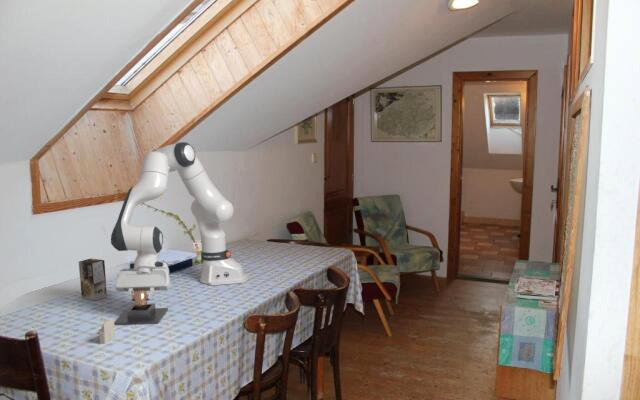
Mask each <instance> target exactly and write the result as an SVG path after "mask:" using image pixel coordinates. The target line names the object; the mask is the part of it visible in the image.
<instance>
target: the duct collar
mask: <svg viewBox="0 0 640 400" xmlns="http://www.w3.org/2000/svg"><path fill="white" fill-rule="evenodd" d="M168 311H169V308H168V307H158V308H156V303H147V310H135V304H132V305H131V306H130V307H129V308H128V309H126V310H125V311H124V312H123V313H122V314H120V316H119V317H118V318H117V319H115V320H114V326H129V325H130V326H132V325H154V324H155V325H159V323H160V322H161V321H162V319H163V317H164V316H165V315H166V314H167V313H168Z"/></svg>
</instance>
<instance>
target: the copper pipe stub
mask: <svg viewBox="0 0 640 400" xmlns="http://www.w3.org/2000/svg"><path fill="white" fill-rule="evenodd" d="M147 294H148V293H147V291H146V289H138V290H135V291H134V293H133V295H134V300H135V301H134V305H135V310H147V304H148V301H147V300H146V295H147Z"/></svg>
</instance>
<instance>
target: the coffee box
mask: <svg viewBox="0 0 640 400" xmlns="http://www.w3.org/2000/svg"><path fill="white" fill-rule="evenodd" d="M105 261H106V260H104V259H98V258H97V259H96V258H87V259H83V260H80V261H78V268H79V269H78V270H79V272H78V273H79V279H80V280H79V281H80V282H79V284H80V292H81V299H84V300H90V301H98V300H99V301H100V300H101V299H105V298H107V297H108V292H107V277H106V265H105Z"/></svg>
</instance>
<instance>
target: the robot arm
mask: <svg viewBox="0 0 640 400" xmlns="http://www.w3.org/2000/svg"><path fill="white" fill-rule="evenodd" d="M197 156H198V155H196V151H195V149H194V147H193V146H192V144H190V143H188V142H184V141H183V142H182V141H181V142H177V143H171V144H168V145H165V146H163V147H160V148H157V149H154V150H152V151H149V152H147V153H146V154H145V156H144V159H143V161H142V164H141V168H140V172H139V178H138V181H137V182H136V183H135V184H134V185H133V186H132V187H129V189H128V191H127V193H126V194H125V195H126V196H125V198H124V200H123V204H122V205H121V209H120V212H119V215H118V217H117V221H116V223H115V224H114V227H113V230H112V232H111V235H110V245H111V246H112V247H113V248H115V250H117V251H119V252H124V251H125V252H126V251H127V252H128V251H135V252H136V257H135V260H134V264H133V268H122V269H121V270H119V271H118V272H117V275H116V280H115V284H114V288H115V289H116V291H117V292H119V293H120V292H121V293H122V292H123V293H124V292H128V293H129V295H130V297H129V299H130V302H135V300H134V291H135V290H138V289H146V292H149V293H146V294H147V295H146V300H147V302H149V301H151V300H152V297H153V295H154V294H155V293H156V291H168V290H169V289H170V288H171V276H170V268H169V266H168V265H167V263H166V262H163V261H160V260H159V256H160V255H161V251H162V249H163V243H164V242H163V241H164V235H163V232H162V230H160V228H158V227H157V226H154V225H132V224H130V222H131V219H132V216H133V213H134V211H135V208H136V207H137V206H138V205H140V204H143V203H146V202H149V201H153V200H155V199H158V198H160V197H161V196H163V195H164V193H166V192H167V187H168V183H169V173H172V172H175V171H177V173H178V175H179V177H180V179H181V181H182V183H183V184H184V187H185V188H186V190H187V192H188V193H189V195H190V196H191V197H193V198H194V199H193V201H192V203H191V206H190V210H191V213H192V214H193V215H192V216H194V218H195V219H196V223H197V226H198V230H199V232H200V242H201V251H200V262H201V274H200V277H199V282H200V283H202V284H206V285H209V286H221V285H234V284H235V285H236V284H243V283H247V282H248V281H249V279H250V277H249V275H248V274H247V273H244V268H243V265H242V264H241V263H239V261H237V260H235V259H234V258H232V255H231V253H232V252H231V250H228V249H227V246H226V245H227V243H226V242H227V240H226V232H225V231H224V229H223V228H222V225H221V223H225V222H228V221H229V220H231V219H232V217H233V215H234V213H235V212H234V211H235V210H234V206H233V204H232V202H230V201H229V200H228V199H227V198H225V197H224V195H222V193H221V192H220V191H219V189H218V188H217V187H216V186H215V184H213V182H212V180H211V179H210V178H211V177H210V176H209V175H208V173H207V171H206V169H205V167H204V166H203V164H202V162H201V160H200V159H199V158H198V157H197Z"/></svg>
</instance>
